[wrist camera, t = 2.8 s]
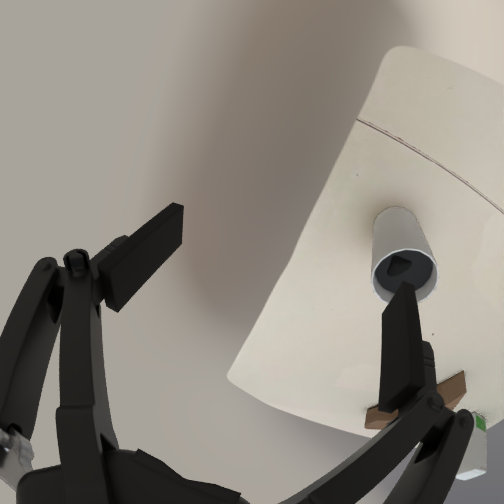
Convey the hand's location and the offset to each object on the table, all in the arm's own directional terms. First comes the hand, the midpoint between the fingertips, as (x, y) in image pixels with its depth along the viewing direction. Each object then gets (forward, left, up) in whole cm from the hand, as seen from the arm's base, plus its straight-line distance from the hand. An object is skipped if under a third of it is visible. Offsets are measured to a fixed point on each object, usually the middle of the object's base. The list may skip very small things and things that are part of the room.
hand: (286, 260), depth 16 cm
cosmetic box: (+42, +54, -19) cm, 71 cm away
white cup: (+4, +10, -19) cm, 22 cm away
